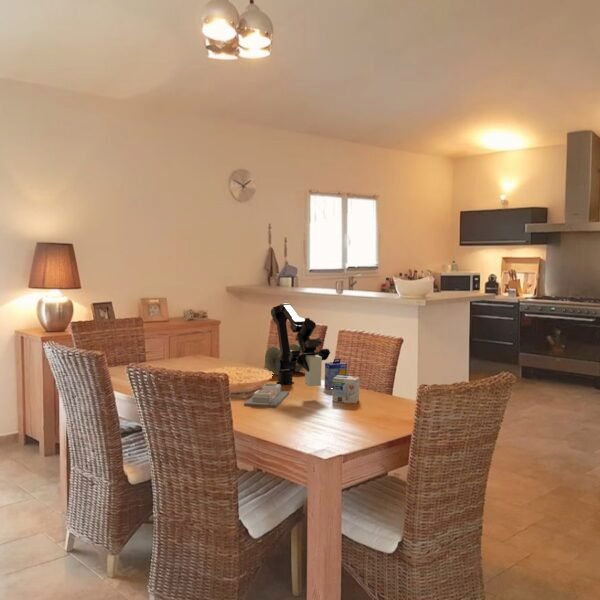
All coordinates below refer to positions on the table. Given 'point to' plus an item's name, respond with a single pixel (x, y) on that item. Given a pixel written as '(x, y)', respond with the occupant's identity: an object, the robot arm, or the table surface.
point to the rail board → (273, 404)
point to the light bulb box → (345, 389)
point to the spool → (273, 355)
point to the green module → (313, 370)
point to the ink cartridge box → (334, 371)
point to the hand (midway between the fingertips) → (314, 370)
